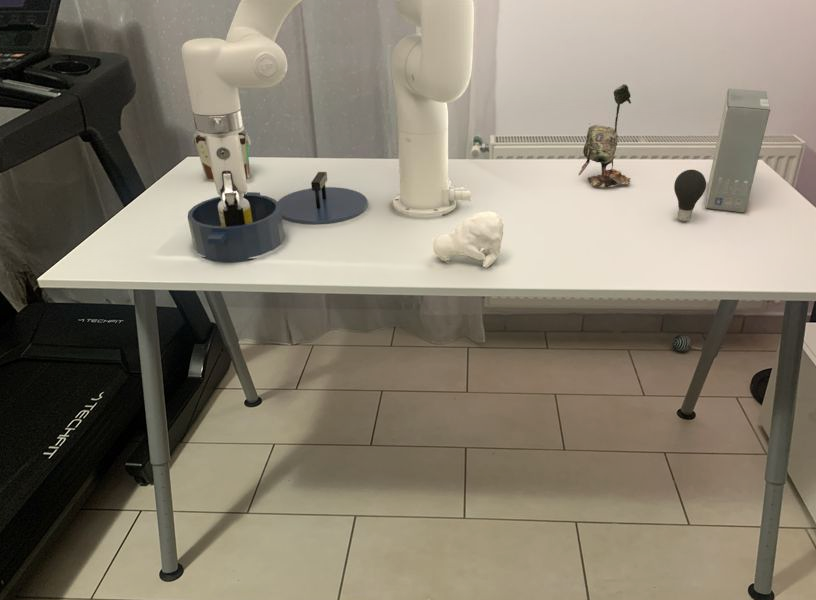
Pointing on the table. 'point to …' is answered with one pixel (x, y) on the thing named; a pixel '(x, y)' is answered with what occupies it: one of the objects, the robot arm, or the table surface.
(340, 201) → the lid
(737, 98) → the hard drive box
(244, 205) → the supplement bottle
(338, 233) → the table surface
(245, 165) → the food container
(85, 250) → the table surface
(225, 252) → the pot
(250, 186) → the table surface
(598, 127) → the bird figurine
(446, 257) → the white lumpy rounded piece
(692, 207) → the light bulb
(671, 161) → the table surface
